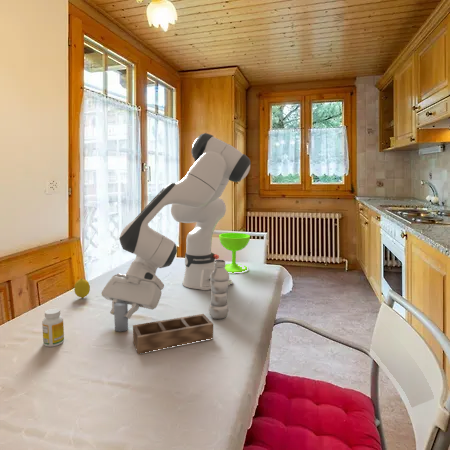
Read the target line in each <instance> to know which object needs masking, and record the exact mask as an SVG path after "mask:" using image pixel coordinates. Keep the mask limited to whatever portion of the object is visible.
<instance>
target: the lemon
mask: <svg viewBox="0 0 450 450" xmlns="http://www.w3.org/2000/svg"><path fill="white" fill-rule="evenodd" d="M73 290H74V293H75V295H76V296H77V297H78V298H81V299H84V298H85V297H87V296H88V295H89V293H90V291H91V286H90V283H89V281H88V280H86V279H84V278H83V277H82V278H80V279H78V280H77V281H76V282H75V284H74V289H73Z"/></svg>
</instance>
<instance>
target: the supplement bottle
mask: <svg viewBox="0 0 450 450" xmlns="http://www.w3.org/2000/svg"><path fill="white" fill-rule="evenodd" d="M41 325H42V340H43V341H42V342H43V345H44V346H45V347H49V348H50V347H51V348H52V347H56V346H59V345H61V344H63V342H64V341H65V332H64V330H65V329H64V318H63V316H62V315H61V309H60V308H58V307H55V308H49V309H46V310H45V311H44V318H43V319H42V323H41Z"/></svg>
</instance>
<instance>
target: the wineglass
mask: <svg viewBox="0 0 450 450" xmlns="http://www.w3.org/2000/svg"><path fill="white" fill-rule="evenodd" d="M218 238H219V242H220V245H221V246H223V248H225V249H226V250H228V251H231V263H227V264H226V263H225V265H226V267H225V269H226V270H227V272H232V273H234V272H242V271H245V270H247V265H244V267H245V269H242V267H240V266H238V264H239V263H238V264H237V263H236V261H237V259H236V257H237V252H238V251H241V250H243V249H245V248H246V246H248V244H249V242H250V239H251V235H250V234H247V233H243V232H223V233H220V234H218Z"/></svg>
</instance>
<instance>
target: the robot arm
mask: <svg viewBox="0 0 450 450" xmlns="http://www.w3.org/2000/svg"><path fill="white" fill-rule="evenodd" d="M190 153H191V155H192V158H193V159H194V163H193V165H192V166H191V167H190V168H189V170H188V171H187V173H186V175H185V176H184V177H183V178H182V179H181V180H179V181H177V182H170V183H169V184H167V185H166V186H165V187H163V188H162V189H161V190H160V191H159V193H157V194H156V195H155V197H154V198H152V200H151V201H150V202H148V204H147V205H146V206H145V207H144V208H143V209H142V211H140V213H139V214H138V215H137V216H136V217H135V218H134V219H133V220H131V221H130V222H129V223H128V224H127V225H126V226H124V228H123V229H122V231H121V233H120V235H119V239H118V240H119V243H120V246H121V247H122V249H123V250H125V251H127V252H129V253H131V254H134V255H136V257H135V259H133V261H132V262H131V263H130V265H129V268H128V269H127V271H126V273H125V274H122V273H117V274H114V275H112V277H111V278H110V279H109V280H108V282H107V283H106V285H105V286H104V287H103V289H102V290H101V296H102V297H103V298H104V299H105V300H108V301H112V303H111V307H112V308H111V310H110V312H109V313H110V314H111V315H112V316H114V304H115V303H118V302H126V303H127V304H128V305H130V306H131V308H130V309H129V310H128V311H126V312H125V314H124V317H125V318H128V320H130V319H131V318H132V316H133V314H134V313H136V312H137V311H139V308H144V309H148V310H154V309H156V308H157V307H158V304H159V303H160V299H161V297H162V293H163V292H162V290H163V289H164V287H165V284H164V283H163V281H162V280H161V279H160V278H159V277H158V276H157V275H156V273H157V270H158V269H162V268H167V267H169V266H171V265H172V263H173V262H174V259H175V258H176V255H177V254H178V248H177V244H176V242H174V241H173V239H170V238H168V237H167V236H165V235H164V234H161V233H159V232H158V231H157V230H155V229H152V227H150V226H149V223H150V222H151V221H152V220H153V219H154V218H155V217H156V216H157V215H158V213H159V212H160V211H161V210H162V209H163V208H164V207H166V206H168V205H171V207H170V212H171V216H172V218H173V219H174V221H176V222H178V223H184V224H193V223H196V224H195V226H194V228H193V229H192V230H191V231H189V232H188V233H187V235H186V241H185V244H186V246H185V247H186V252H185V254H184V265H185V270H184V271H185V272H184V277H183V281H182V286H184V287H185V288H190V289H194V290H195V289H197V290H201V291H209V290H210V291H211V282H210V275H211V272H212V271H213V270H214V268H215V267H214V261H215V260H219V259H220V256H219V255H218V254H217V253H216V254H215V253H213V252H212V244H213V243H212V242H213V234H214V231H215V229H216V226H217V224H219V222H220V220H222V219H223V218H224V216H225V215H226V211H227V207H226V203H225V201H224V200H223V199H222V198H221V196H222V194H223V193H224V191H225V189H226V187H227V185H228V184H229V181H230V182H234V183H238V182H241V181H242V180H244V179H245V178H246V177H247V176H248V174H249V173H250V170H251V159H250V157H248V156H247V155H246V154H245V153H242V151H240V150H239V149H237V148H236V147H234V146H233V145H231V144H230V143H227V142H226V141H223V140H222V139H220V138H217V137H215V136H214V135H212V134H210V133H207V132H203V133H201V134H199V136H198V137H197V138H196V139H195V140H194V142H193V143H192V148H191V152H190ZM232 283H233V279H232V278H230V277H229V282H228V286H231V285H230V284H232ZM233 284H234V283H233ZM233 284H232V285H233Z"/></svg>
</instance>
